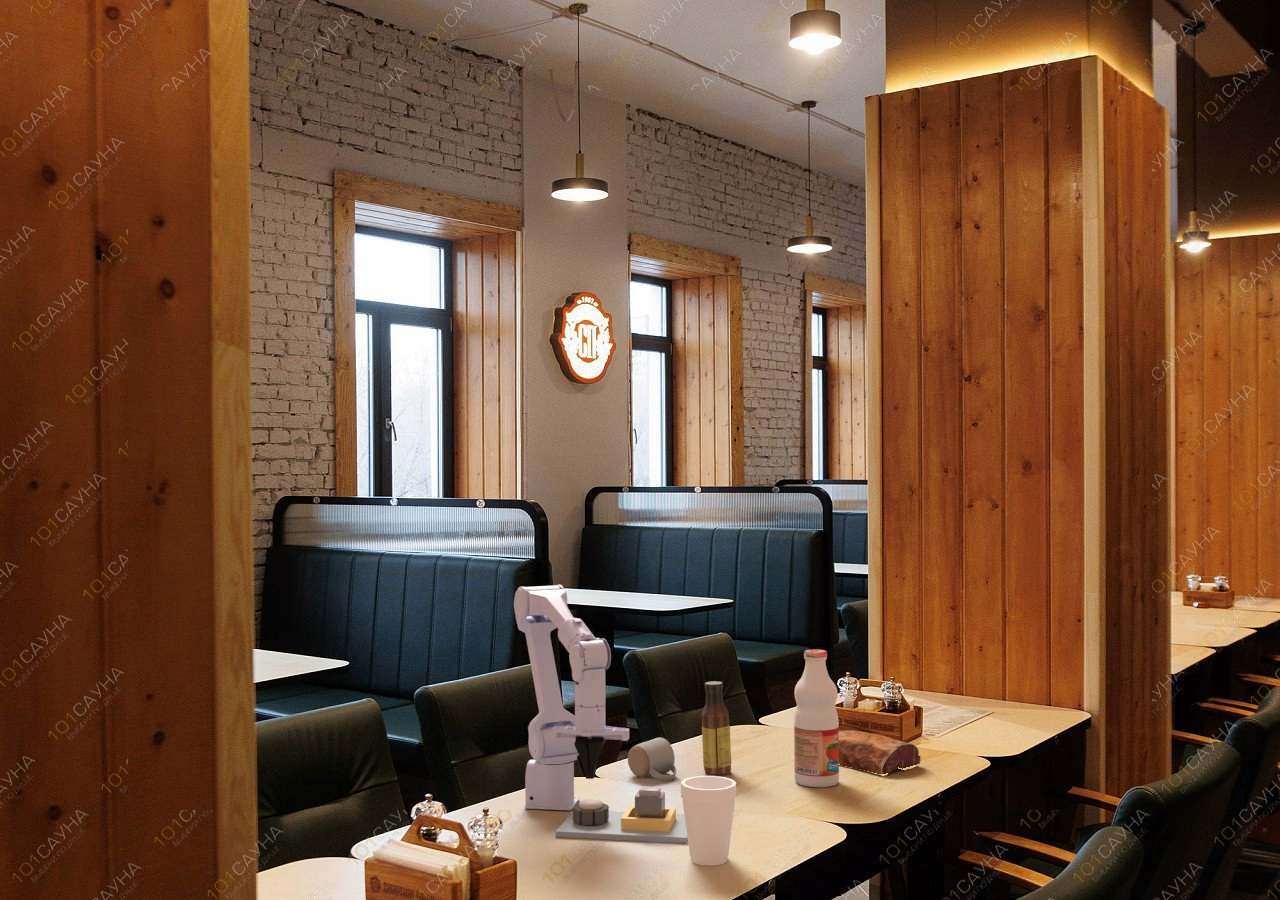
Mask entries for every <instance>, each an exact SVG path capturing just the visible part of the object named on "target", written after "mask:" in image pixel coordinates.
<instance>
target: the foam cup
mask: <svg viewBox="0 0 1280 900" xmlns="http://www.w3.org/2000/svg"><path fill="white" fill-rule="evenodd" d="M680 797H681V798H682V799H681V800H682V806H683V807H682V808H683V813H684V815H685V822H686V829H687V837H688V841H687V844H688V850H689V856H690V861H692V863H694V864H696V865H700V866H710V867H711V866H713V867H714V866H719V865H723V864H725V863H727V861H729V860H728V859H729V854H730V845H731V837H732V836H731V835H732V827H733V820H734V810H735V802H736V798H737V782H736V781H735V780H734V779H732V778H729V777H724V776H720V775H698V776H691V777H687V778H685V779H683V780H682V781H681V782H680Z"/></svg>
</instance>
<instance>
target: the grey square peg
mask: <svg viewBox="0 0 1280 900" xmlns="http://www.w3.org/2000/svg"><path fill="white" fill-rule="evenodd" d="M634 806H635V817H638V818H660V819H665V808H666V792H665V791H661V787H658V786H657V787H656V786H655V787H654V786H653V787H652V786H640V789H638V791H637V792H636V794H635V795H634Z"/></svg>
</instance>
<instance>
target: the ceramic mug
mask: <svg viewBox="0 0 1280 900" xmlns="http://www.w3.org/2000/svg"><path fill="white" fill-rule="evenodd" d="M675 759H676V756H675V753H674V749H673V747H672V745H671V743H670V742H669V741H668V740H667V739H666V738H664V737H656V738H654V739H650V740H646V741H643V742H640V743H638V744H636V745H634V746H632V747H631V748H630V749H629V751H628V754H627V764H628V767H629V769H630V771H631V772H632V774H633V775H634V776H635V777H637V778H643V779H644V778H650V777H653V778H654V779H655V780H657V781H658V780H659V781H661V782H670V781H673V780H674V779H675V778H676V775H677V768H676V766H675V761H676V760H675ZM670 772H672V774H666V773H670Z"/></svg>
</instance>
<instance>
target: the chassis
mask: <svg viewBox="0 0 1280 900" xmlns="http://www.w3.org/2000/svg"><path fill="white" fill-rule="evenodd" d="M555 837H556V838H568V839H569V838H570V839H590V840H591V839H592V840H593V839H594V840H613V841H630V842H631V841H632V842H652V843H654V842H655V843H670V844H671V843H672V844H688V837H687V829H686V822H685V814H681V813H677V808H676V807H665V819H660V818H638V817H635V805H633V806H632V805H629V806H628V807H627V808H626V809H625V811H615V810H614V811H612V810H611V811H610V810H609V819H608V821H607V822H605V823H602V824H598V825H595V824H593V825H582V824H578V823H576V822H573V810H572V811H571V812H570V813H569V814H568V816H567V817H566V818H565V819H564V821H563V822H562V823H561V824H560V826H559V827H558V828H557V829H556V830H555Z"/></svg>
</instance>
